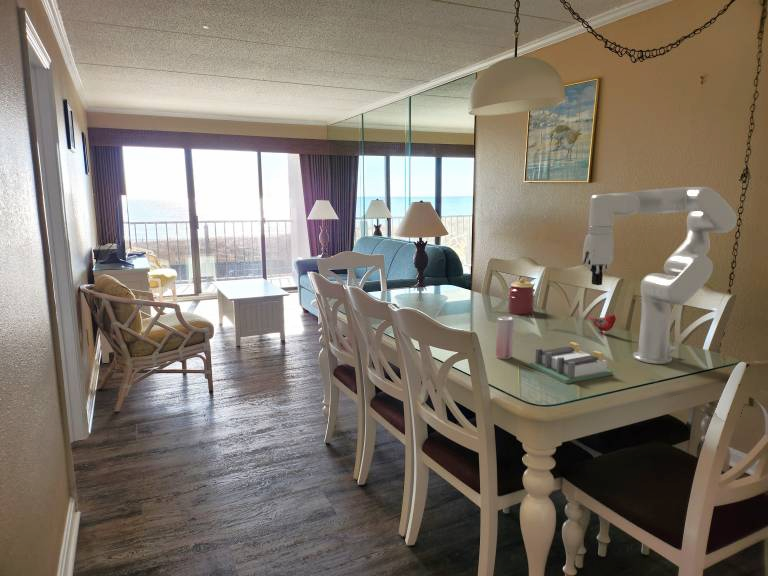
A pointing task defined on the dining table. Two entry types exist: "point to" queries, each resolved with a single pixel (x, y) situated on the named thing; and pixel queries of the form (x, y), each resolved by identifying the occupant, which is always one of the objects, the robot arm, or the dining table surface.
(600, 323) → the decorative bird figurine
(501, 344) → the beverage can
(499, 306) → the dining table surface
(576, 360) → the near strap
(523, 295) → the canister
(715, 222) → the robot arm
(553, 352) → the strap
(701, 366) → the dining table surface
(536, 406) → the dining table surface
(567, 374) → the board
